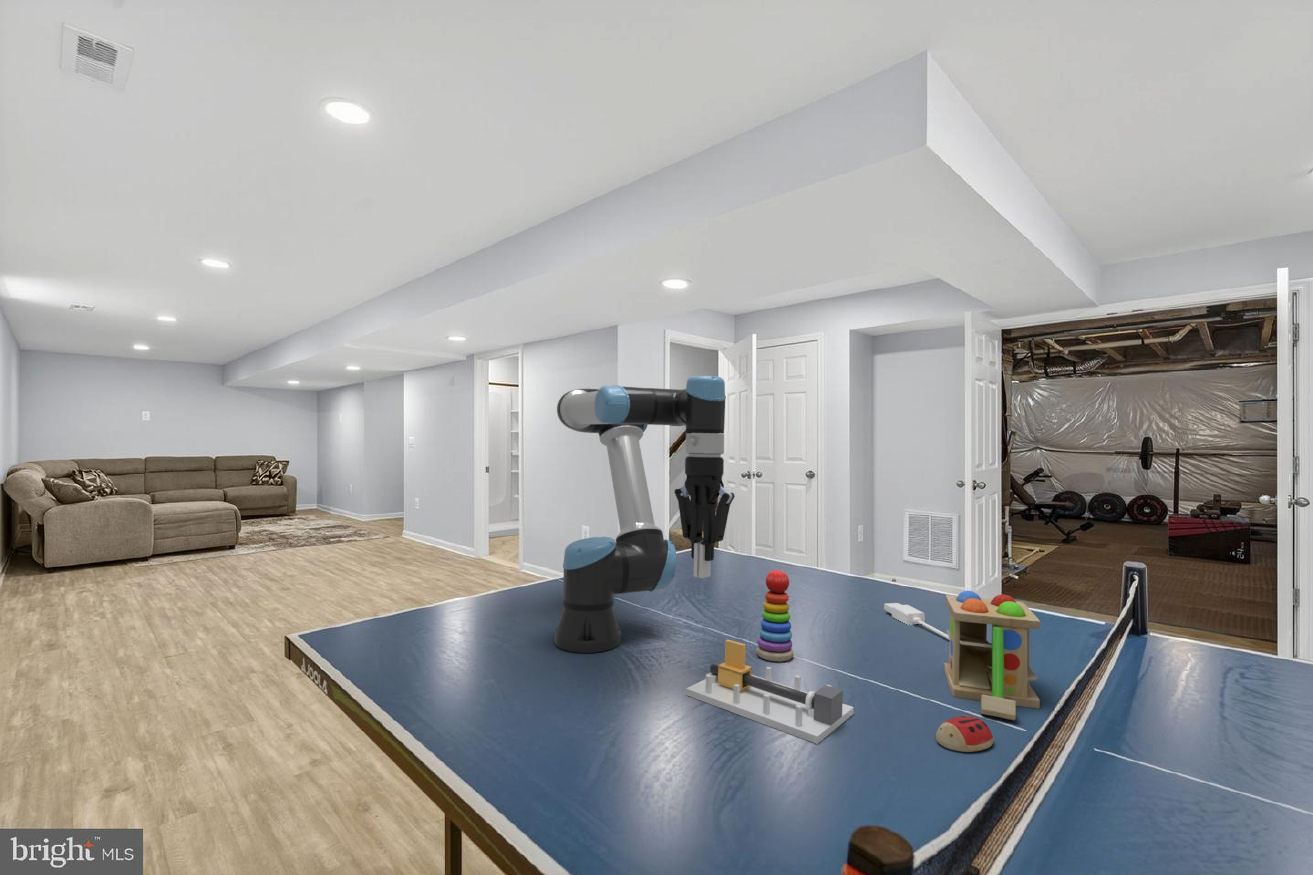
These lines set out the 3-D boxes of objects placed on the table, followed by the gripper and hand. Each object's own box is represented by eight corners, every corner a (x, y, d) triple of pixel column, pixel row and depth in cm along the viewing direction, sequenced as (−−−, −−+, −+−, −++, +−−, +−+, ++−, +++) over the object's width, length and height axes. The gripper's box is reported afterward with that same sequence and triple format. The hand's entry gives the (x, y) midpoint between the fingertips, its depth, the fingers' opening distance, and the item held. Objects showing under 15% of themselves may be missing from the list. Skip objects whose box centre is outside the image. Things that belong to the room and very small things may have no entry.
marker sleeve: (718, 683, 113) (718, 641, 113) (728, 678, 116) (729, 636, 116) (740, 691, 110) (741, 648, 110) (751, 685, 113) (752, 643, 113)
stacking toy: (793, 664, 127) (795, 575, 127) (755, 661, 129) (757, 573, 129) (793, 651, 135) (794, 568, 135) (756, 648, 137) (758, 565, 137)
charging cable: (966, 660, 135) (967, 645, 135) (882, 612, 167) (883, 600, 167) (985, 658, 136) (986, 644, 136) (899, 611, 168) (899, 599, 168)
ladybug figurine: (925, 739, 97) (925, 716, 97) (968, 728, 101) (969, 707, 101) (960, 759, 91) (961, 736, 91) (1005, 747, 95) (1006, 725, 95)
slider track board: (685, 694, 111) (686, 664, 111) (728, 673, 122) (729, 645, 122) (817, 744, 94) (818, 708, 94) (853, 713, 105) (854, 681, 105)
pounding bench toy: (1053, 731, 100) (1056, 623, 100) (958, 716, 105) (960, 613, 105) (1021, 679, 122) (1023, 591, 122) (943, 669, 127) (945, 584, 127)
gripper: (665, 454, 120) (662, 573, 120) (722, 457, 111) (719, 586, 111) (688, 454, 125) (686, 567, 125) (744, 456, 116) (742, 579, 116)
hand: (702, 576), depth 118 cm, fingers closed
